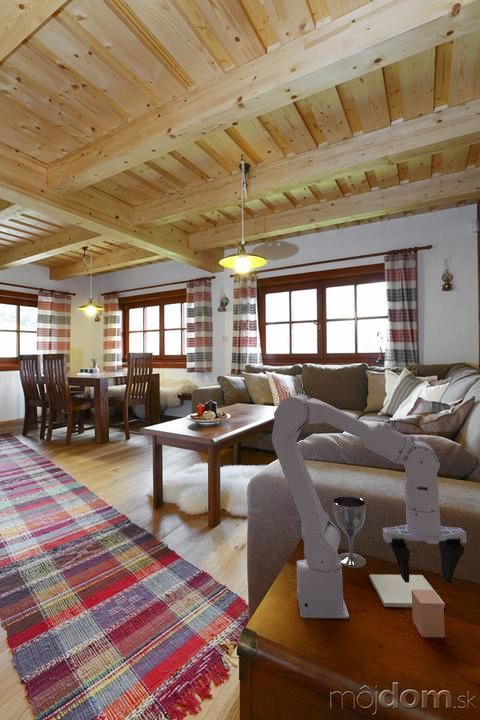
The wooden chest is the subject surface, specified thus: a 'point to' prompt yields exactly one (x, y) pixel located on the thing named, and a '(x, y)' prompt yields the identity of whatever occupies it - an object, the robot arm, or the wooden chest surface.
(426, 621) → the block
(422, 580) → the mat
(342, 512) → the wine glass
